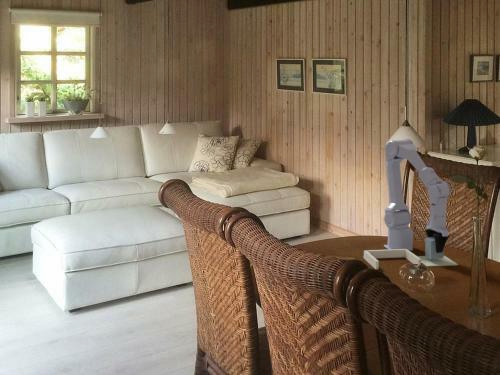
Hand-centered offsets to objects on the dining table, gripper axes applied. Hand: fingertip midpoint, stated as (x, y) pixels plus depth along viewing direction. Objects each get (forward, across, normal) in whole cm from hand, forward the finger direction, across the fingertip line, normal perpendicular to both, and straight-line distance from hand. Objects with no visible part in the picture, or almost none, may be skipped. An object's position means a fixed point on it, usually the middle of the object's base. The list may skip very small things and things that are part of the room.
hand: (436, 250), depth 227 cm
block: (+2, 0, -1) cm, 2 cm away
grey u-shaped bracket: (+4, 0, -17) cm, 18 cm away
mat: (+4, 0, 0) cm, 4 cm away
